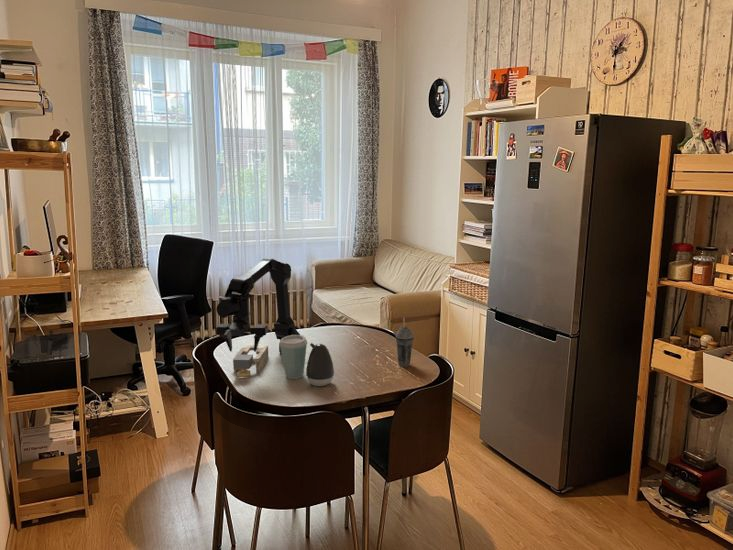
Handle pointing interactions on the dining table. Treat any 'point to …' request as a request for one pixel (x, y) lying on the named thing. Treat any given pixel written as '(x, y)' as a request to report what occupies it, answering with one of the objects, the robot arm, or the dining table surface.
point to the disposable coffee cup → (293, 355)
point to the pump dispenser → (319, 366)
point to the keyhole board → (261, 356)
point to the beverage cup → (404, 345)
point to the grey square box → (243, 364)
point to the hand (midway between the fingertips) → (243, 351)
